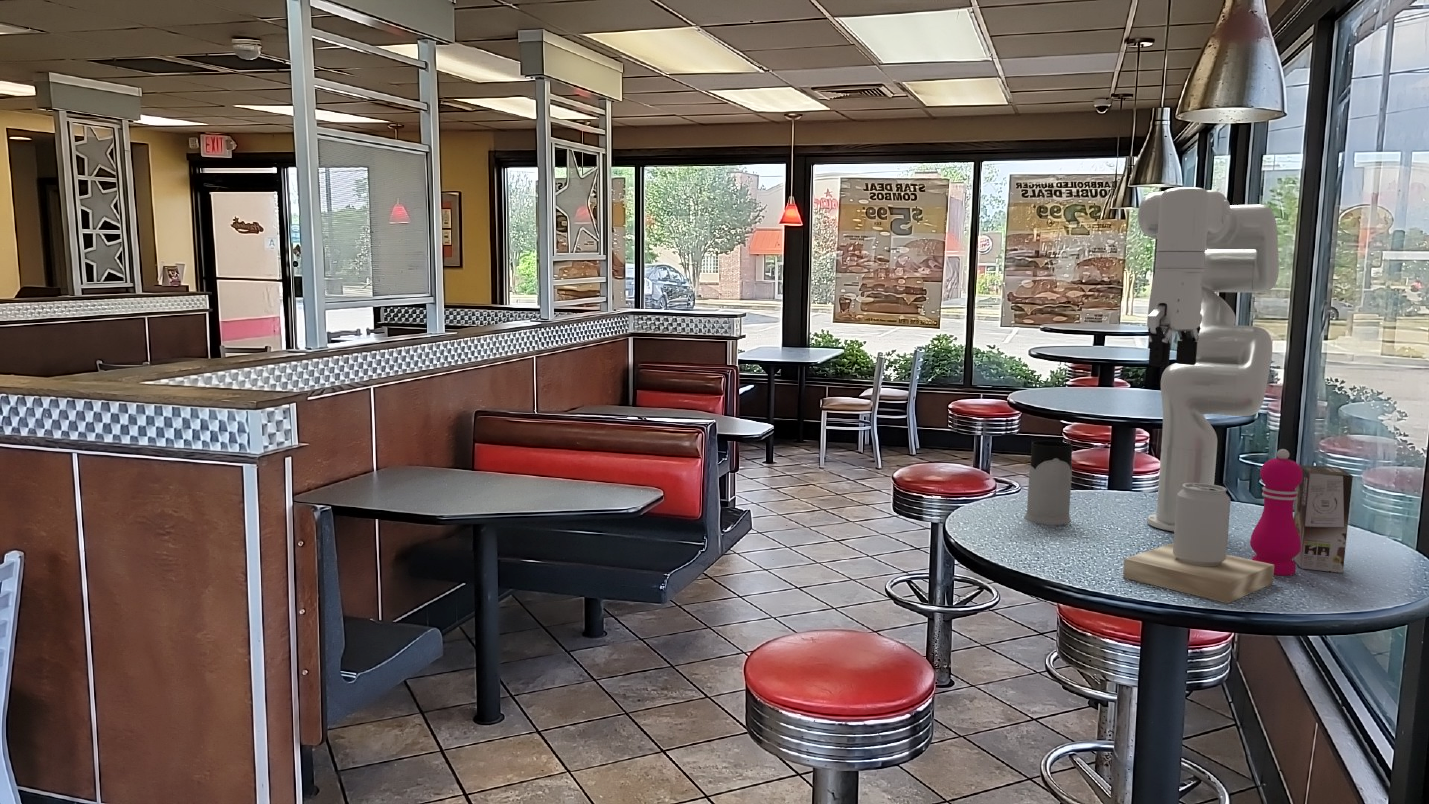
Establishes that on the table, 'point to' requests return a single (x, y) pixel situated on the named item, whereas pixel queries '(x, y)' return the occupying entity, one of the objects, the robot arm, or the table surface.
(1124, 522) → the table surface
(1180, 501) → the can
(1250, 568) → the plinth
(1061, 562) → the table surface
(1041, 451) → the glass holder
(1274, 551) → the pepper mill
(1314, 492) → the coffee box
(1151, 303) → the robot arm
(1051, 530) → the table surface
